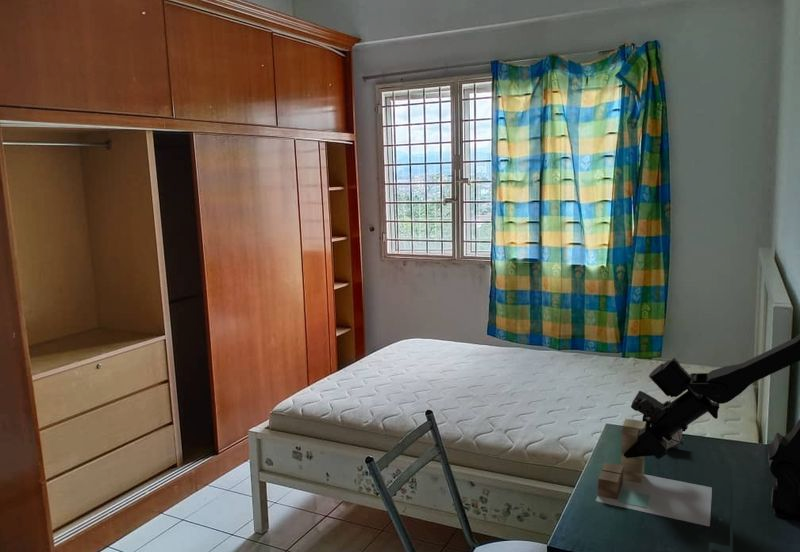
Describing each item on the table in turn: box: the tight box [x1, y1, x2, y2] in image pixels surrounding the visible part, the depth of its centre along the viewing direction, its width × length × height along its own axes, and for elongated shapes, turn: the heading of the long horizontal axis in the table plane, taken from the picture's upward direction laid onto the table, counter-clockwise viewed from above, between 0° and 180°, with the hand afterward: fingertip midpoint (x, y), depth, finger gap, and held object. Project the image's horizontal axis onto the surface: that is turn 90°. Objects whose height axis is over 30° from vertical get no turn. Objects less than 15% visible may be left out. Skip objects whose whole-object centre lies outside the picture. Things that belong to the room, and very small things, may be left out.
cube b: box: [601, 461, 624, 489], centre depth 140 cm, size 4×4×4 cm
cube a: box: [597, 470, 621, 500], centre depth 136 cm, size 4×4×4 cm
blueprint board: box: [595, 473, 713, 527], centre depth 136 cm, size 22×17×1 cm
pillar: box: [620, 418, 646, 483], centre depth 142 cm, size 4×4×13 cm
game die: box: [663, 429, 685, 450], centre depth 159 cm, size 9×8×10 cm
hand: (626, 449), depth 143 cm, fingers open, 7 cm apart
